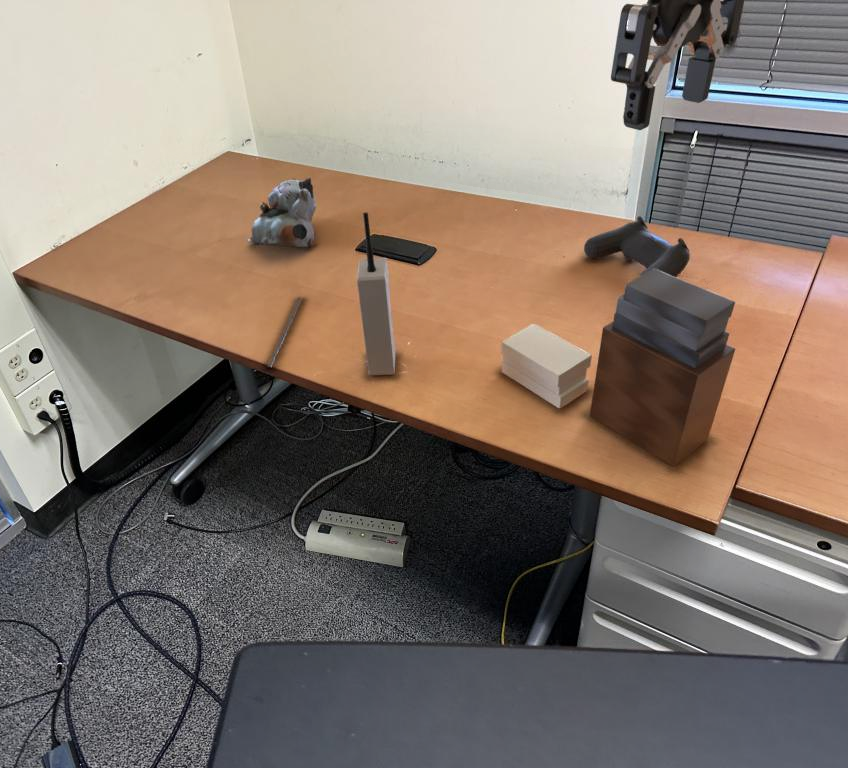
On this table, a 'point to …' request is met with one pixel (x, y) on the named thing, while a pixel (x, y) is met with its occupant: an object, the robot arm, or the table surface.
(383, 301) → the vintage mobile phone
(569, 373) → the white book
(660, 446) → the brown wooden tall block
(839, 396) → the table surface
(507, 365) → the white stack
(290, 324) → the rod
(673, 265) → the gaming controller
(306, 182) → the lucky cat figurine
